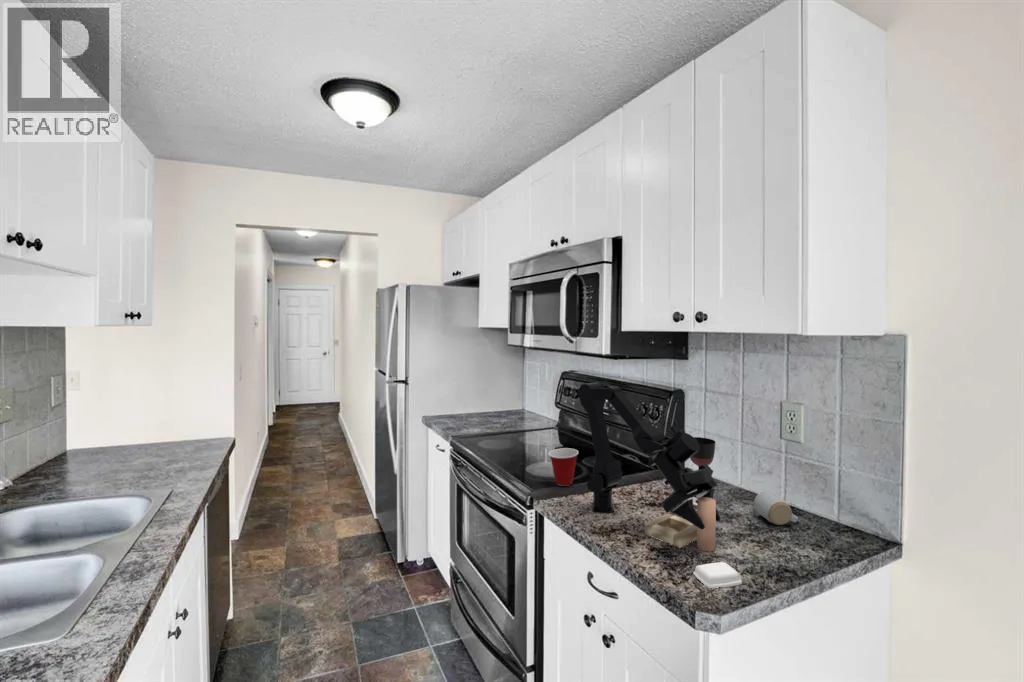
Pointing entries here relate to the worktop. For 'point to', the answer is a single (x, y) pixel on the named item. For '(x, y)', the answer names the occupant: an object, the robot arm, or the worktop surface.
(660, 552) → the worktop surface
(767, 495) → the ceramic mug
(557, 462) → the plastic cup
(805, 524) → the worktop surface
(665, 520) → the socket block
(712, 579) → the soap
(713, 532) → the dowel
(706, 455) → the wineglass
